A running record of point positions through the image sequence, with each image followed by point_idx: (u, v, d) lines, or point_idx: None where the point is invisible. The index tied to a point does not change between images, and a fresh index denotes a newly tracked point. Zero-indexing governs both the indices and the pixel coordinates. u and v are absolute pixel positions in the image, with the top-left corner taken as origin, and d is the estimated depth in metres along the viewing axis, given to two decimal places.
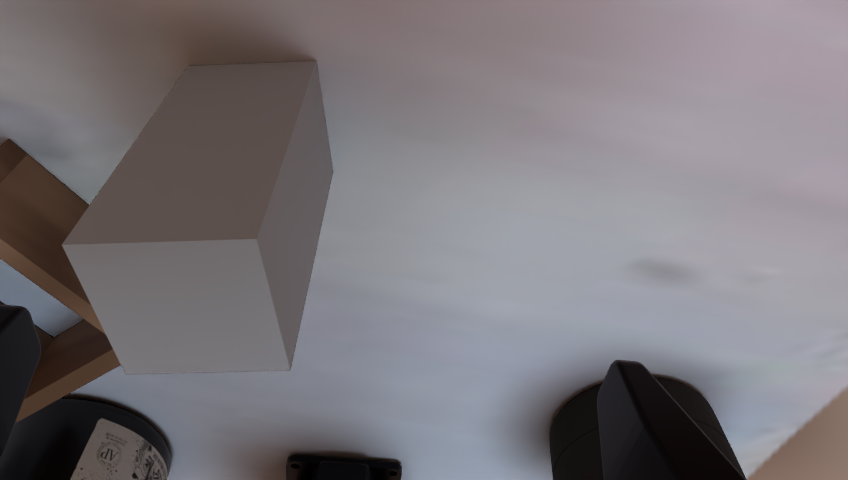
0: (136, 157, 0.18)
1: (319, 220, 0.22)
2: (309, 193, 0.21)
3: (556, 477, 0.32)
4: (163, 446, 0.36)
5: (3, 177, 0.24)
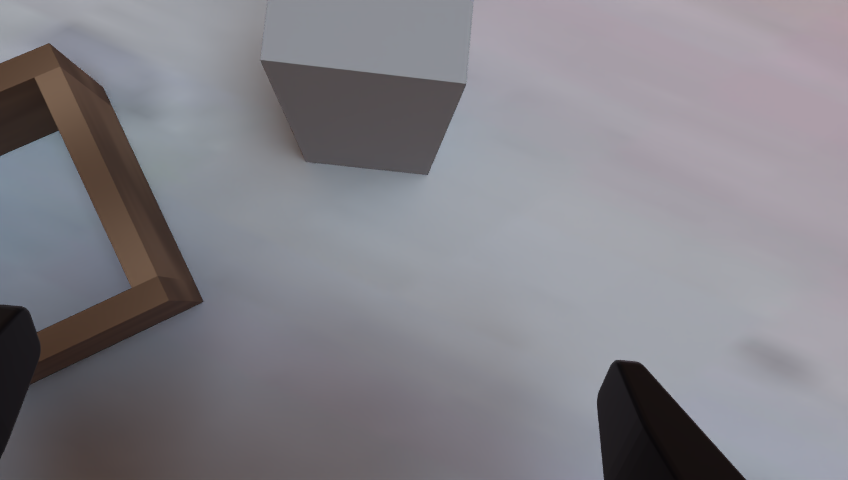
0: None
1: None
2: None
3: None
4: None
5: (91, 90, 0.22)
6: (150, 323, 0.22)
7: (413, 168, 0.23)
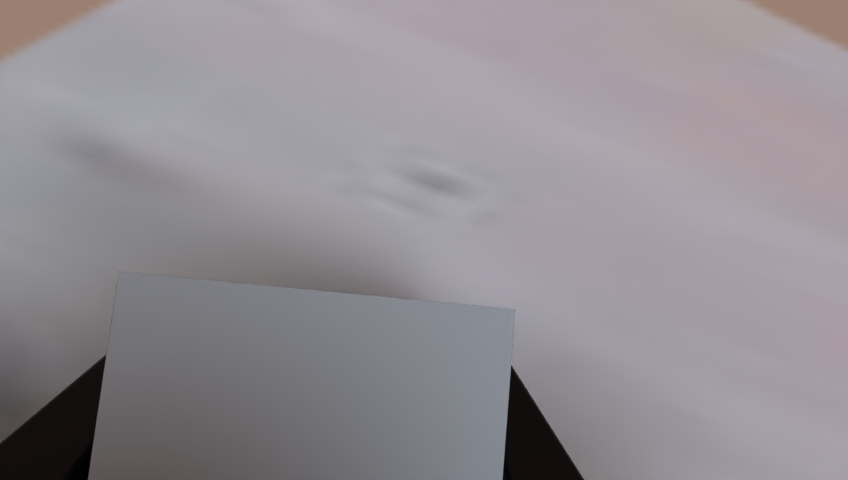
0: None
1: None
2: None
3: None
4: None
5: None
6: None
7: None
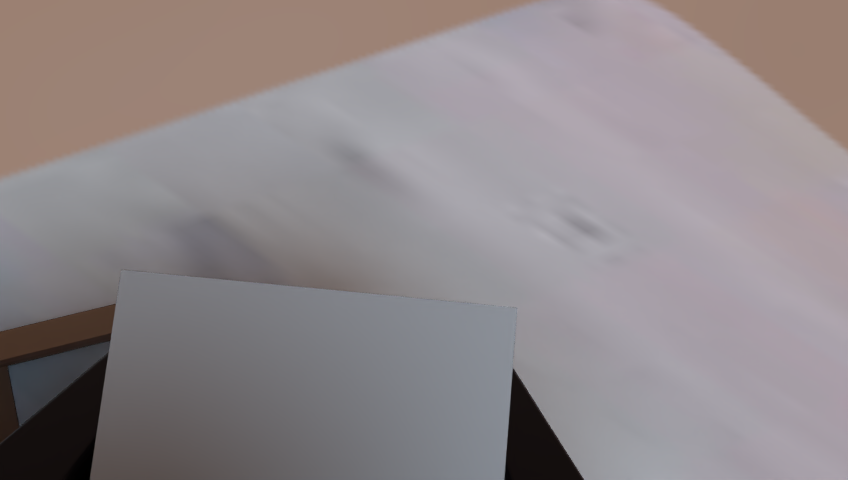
0: None
1: None
2: None
3: None
4: None
5: None
6: None
7: None
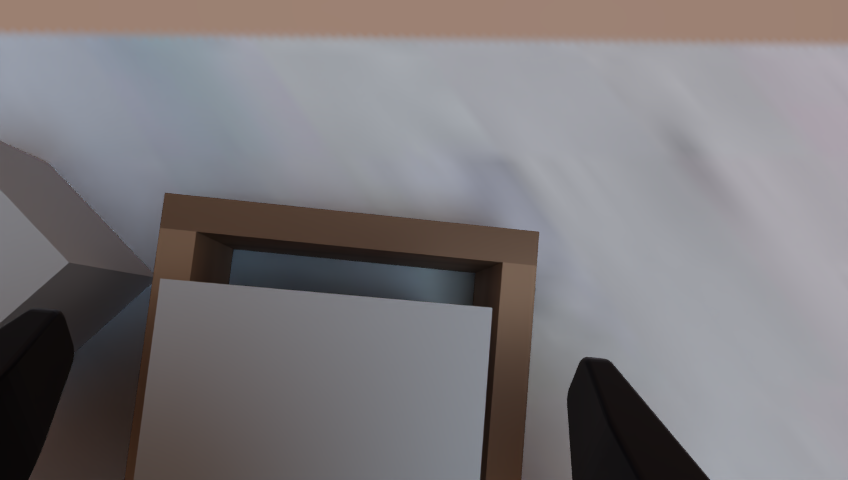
0: None
1: None
2: None
3: None
4: None
5: None
6: None
7: None
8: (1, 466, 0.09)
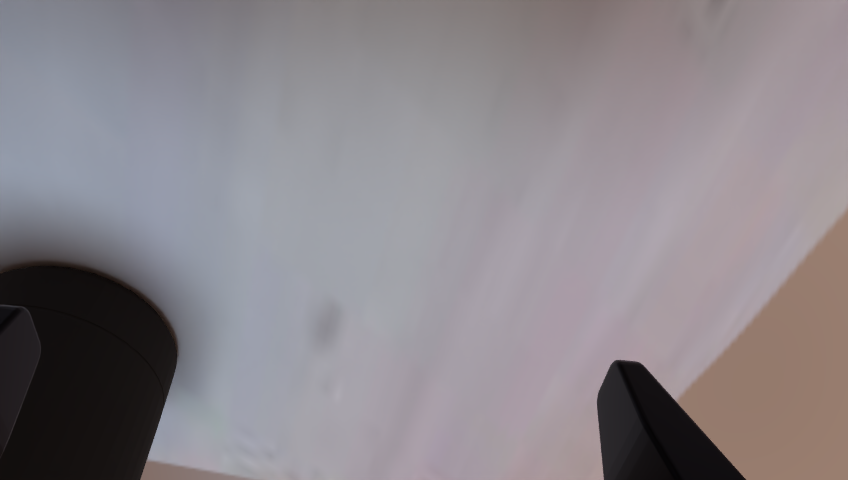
0: None
1: None
2: None
3: None
4: None
5: None
6: None
7: None
8: None
